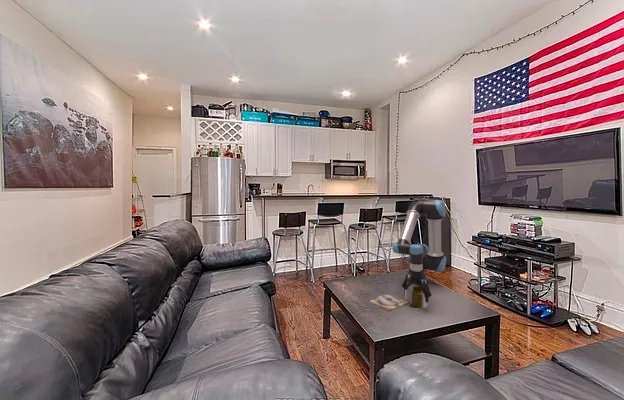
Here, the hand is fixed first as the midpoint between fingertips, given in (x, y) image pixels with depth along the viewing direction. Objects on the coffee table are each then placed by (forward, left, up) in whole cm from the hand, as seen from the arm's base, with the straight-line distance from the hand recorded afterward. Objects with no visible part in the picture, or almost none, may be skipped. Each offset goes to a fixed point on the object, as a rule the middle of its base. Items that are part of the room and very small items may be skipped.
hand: (415, 302), depth 177 cm
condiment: (0, 0, -2) cm, 2 cm away
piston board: (+10, -13, -2) cm, 17 cm away
